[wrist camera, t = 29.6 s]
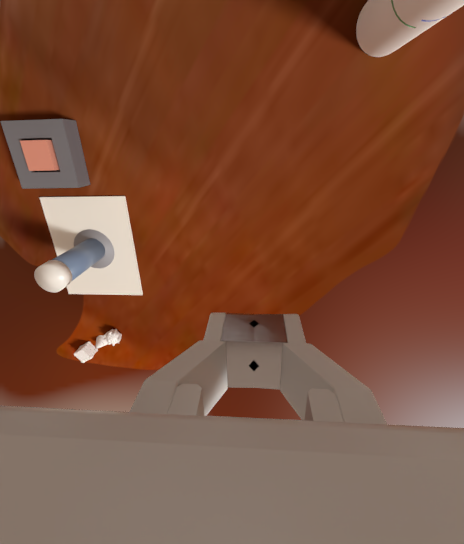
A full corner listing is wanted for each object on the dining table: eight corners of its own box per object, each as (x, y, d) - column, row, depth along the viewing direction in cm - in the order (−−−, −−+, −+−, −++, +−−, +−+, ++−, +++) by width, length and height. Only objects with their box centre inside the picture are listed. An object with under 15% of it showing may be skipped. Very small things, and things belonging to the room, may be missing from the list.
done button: (33, 140, 46) (19, 140, 43) (59, 140, 45) (46, 139, 43) (41, 169, 48) (29, 170, 45) (66, 168, 47) (54, 170, 45)
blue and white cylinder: (79, 237, 53) (30, 264, 42) (103, 237, 53) (59, 265, 41) (85, 260, 55) (39, 292, 44) (107, 260, 55) (67, 292, 43)
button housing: (17, 122, 46) (0, 121, 43) (75, 120, 45) (62, 118, 42) (36, 185, 50) (22, 188, 47) (90, 184, 49) (79, 187, 46)
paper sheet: (40, 196, 51) (38, 197, 51) (125, 195, 50) (124, 196, 49) (69, 293, 59) (68, 294, 59) (142, 294, 58) (142, 295, 58)
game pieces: (90, 354, 67) (82, 363, 64) (80, 344, 66) (72, 354, 63) (126, 334, 63) (120, 343, 60) (116, 323, 62) (109, 332, 59)
